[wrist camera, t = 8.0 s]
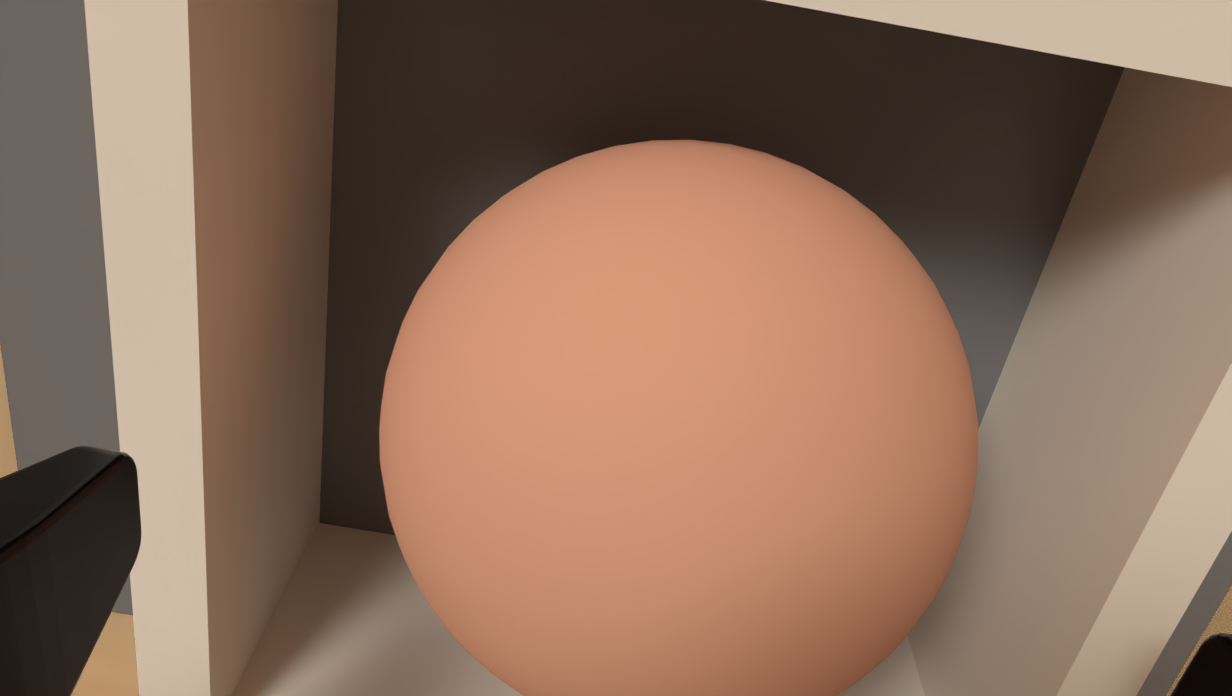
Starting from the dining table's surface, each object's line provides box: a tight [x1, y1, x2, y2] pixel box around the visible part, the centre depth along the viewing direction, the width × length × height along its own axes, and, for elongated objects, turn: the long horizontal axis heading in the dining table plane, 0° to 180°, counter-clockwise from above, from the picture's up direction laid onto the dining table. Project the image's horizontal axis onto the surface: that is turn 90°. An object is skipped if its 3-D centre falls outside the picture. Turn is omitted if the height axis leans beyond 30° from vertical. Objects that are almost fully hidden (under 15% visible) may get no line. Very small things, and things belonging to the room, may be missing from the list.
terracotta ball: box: [379, 140, 978, 696], centre depth 10 cm, size 6×6×6 cm
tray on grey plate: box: [0, 0, 1232, 696], centre depth 12 cm, size 18×14×5 cm
